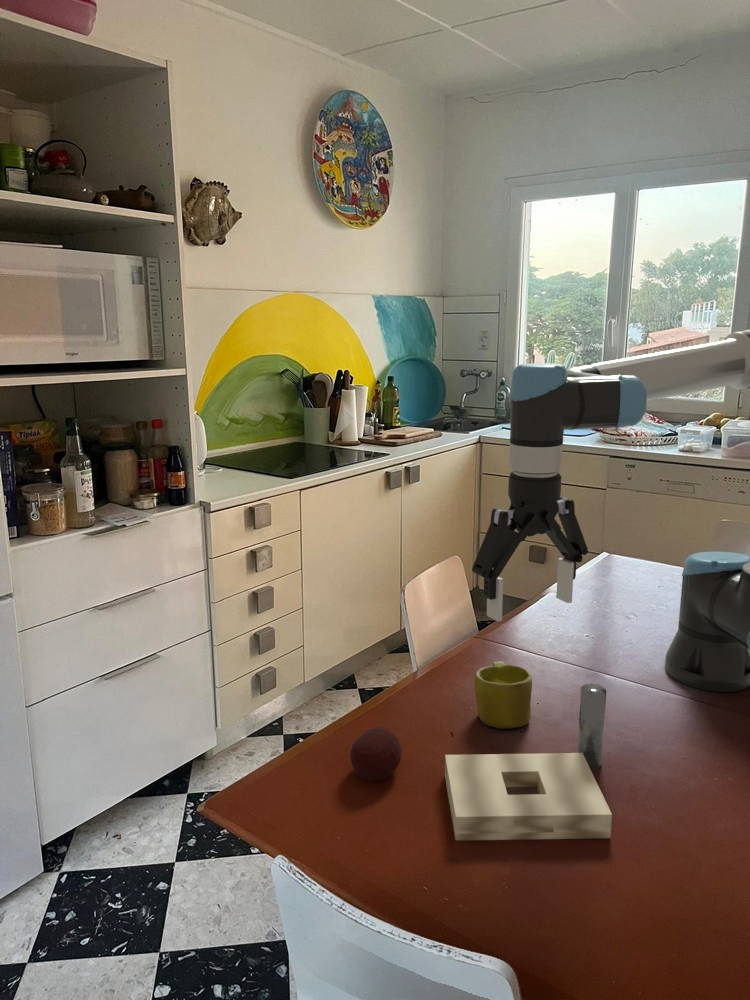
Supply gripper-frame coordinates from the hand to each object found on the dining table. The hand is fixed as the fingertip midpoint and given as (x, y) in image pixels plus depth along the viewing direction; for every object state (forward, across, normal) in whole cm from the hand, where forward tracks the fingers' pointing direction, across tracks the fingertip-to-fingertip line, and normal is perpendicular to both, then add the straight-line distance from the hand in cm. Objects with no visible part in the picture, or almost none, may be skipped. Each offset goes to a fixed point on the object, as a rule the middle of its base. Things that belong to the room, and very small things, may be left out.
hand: (530, 609), depth 116 cm
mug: (+22, -2, -8) cm, 24 cm away
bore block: (+22, +11, +13) cm, 28 cm away
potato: (+22, +24, -4) cm, 33 cm away
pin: (+22, -4, +10) cm, 24 cm away
